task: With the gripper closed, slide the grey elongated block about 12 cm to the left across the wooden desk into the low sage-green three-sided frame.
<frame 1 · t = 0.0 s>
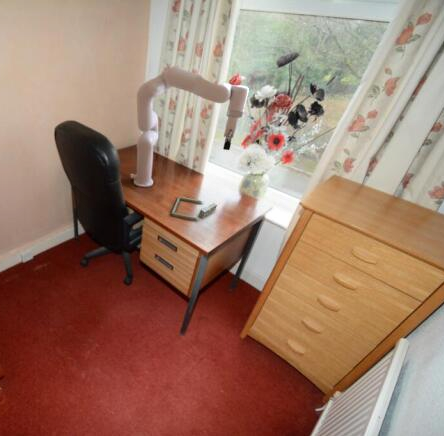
hand: (226, 146, 145), 31 cm above the table, tool pointing down, fingers open, 9 cm apart
grey elongated block: (207, 213, 149), on the table
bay: (187, 209, 151), on the table
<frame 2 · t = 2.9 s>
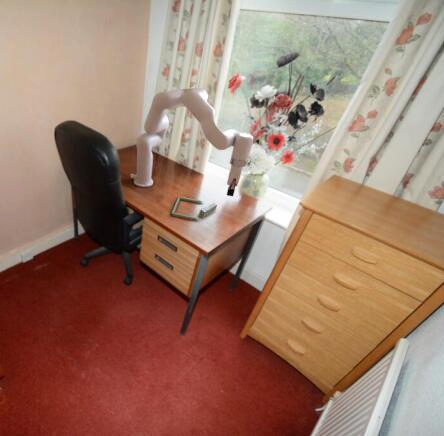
hand: (229, 195, 138), 14 cm above the table, tool pointing down, fingers closed
nothing on the table moved.
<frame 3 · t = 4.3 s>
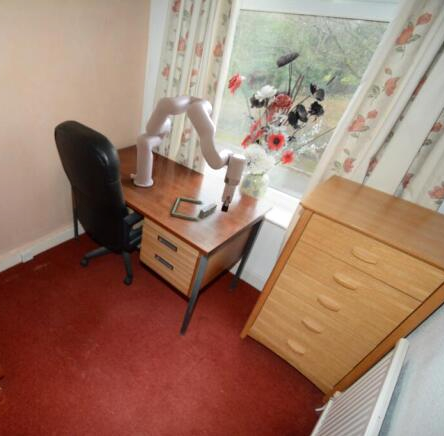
hand: (224, 210, 144), 4 cm above the table, tool pointing down, fingers closed
nothing on the table moved.
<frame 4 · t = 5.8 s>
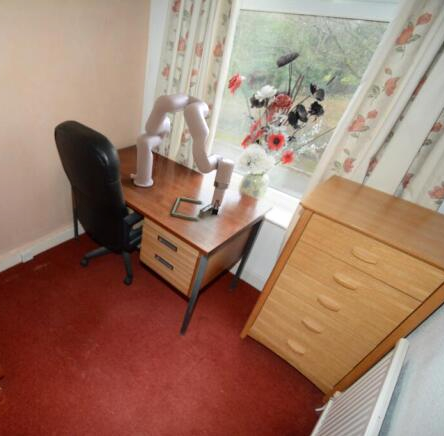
hand: (214, 213, 147), 1 cm above the table, tool pointing down, fingers closed
grey elongated block: (207, 213, 149), on the table, touching gripper
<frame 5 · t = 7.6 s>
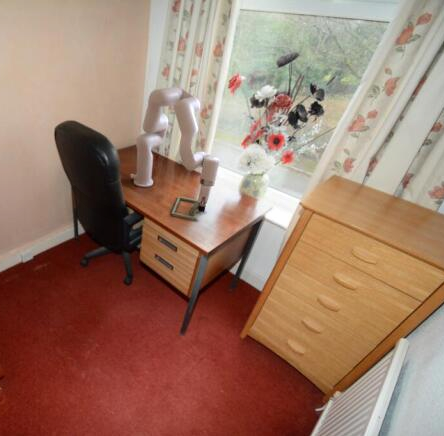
hand: (201, 211, 149), 1 cm above the table, tool pointing down, fingers closed
grey elongated block: (196, 210, 150), on the table, touching gripper
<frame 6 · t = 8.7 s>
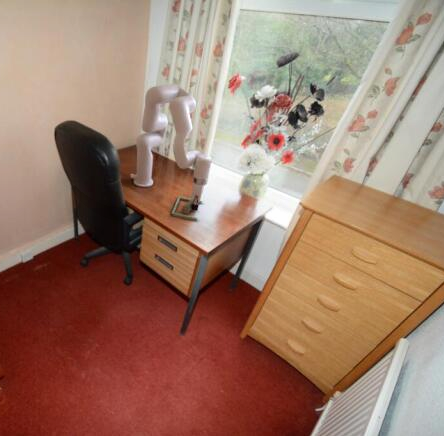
hand: (194, 209, 150), 1 cm above the table, tool pointing down, fingers closed
grey elongated block: (189, 209, 151), on the table, touching gripper
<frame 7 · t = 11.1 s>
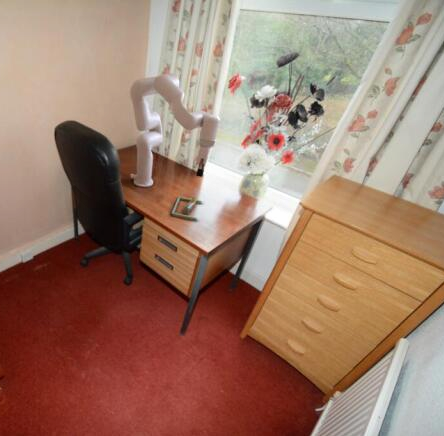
hand: (199, 175, 143), 19 cm above the table, tool pointing down, fingers closed
grey elongated block: (189, 209, 151), on the table
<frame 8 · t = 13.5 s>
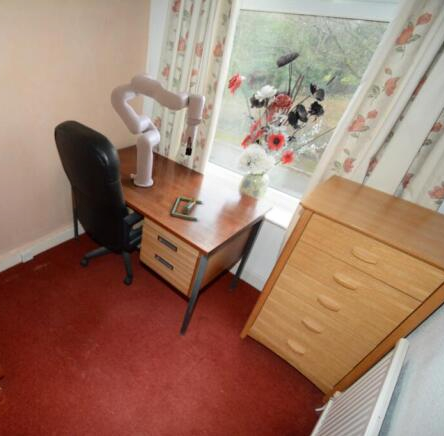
hand: (188, 154, 150), 25 cm above the table, tool pointing down, fingers closed
nothing on the table moved.
at the end: grey elongated block inside the target area on the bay (1.5 cm from its centre), point 0.0 cm above the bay's base; grey elongated block moved 9.8 cm from its start; grey elongated block tilted 0° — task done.
